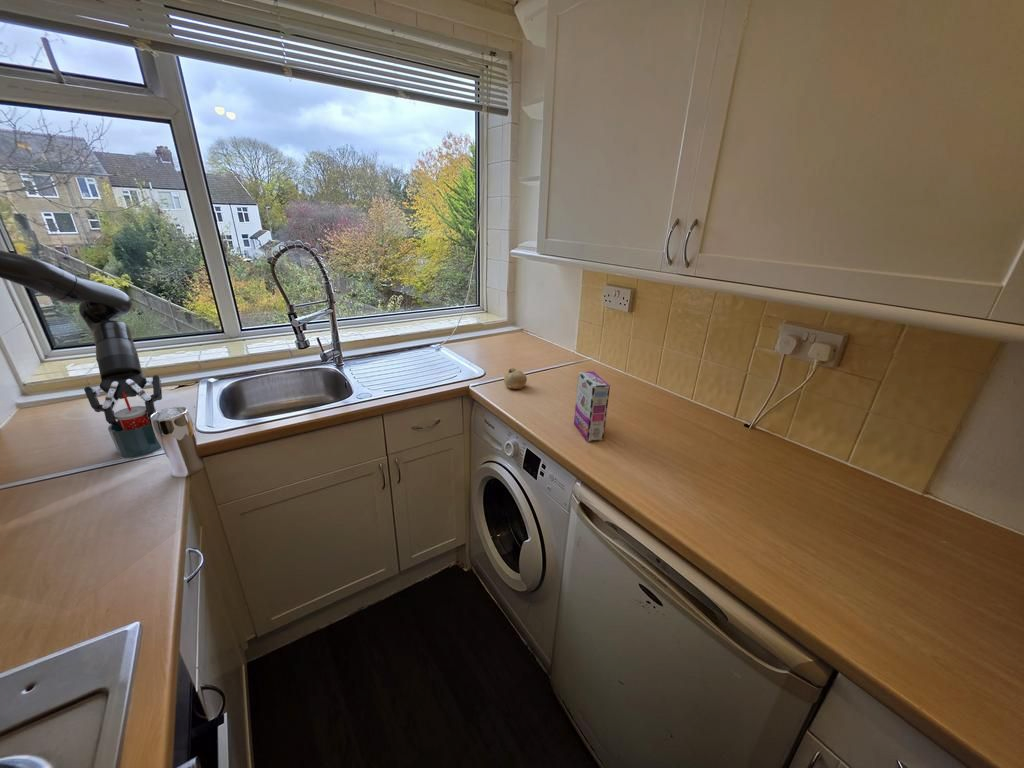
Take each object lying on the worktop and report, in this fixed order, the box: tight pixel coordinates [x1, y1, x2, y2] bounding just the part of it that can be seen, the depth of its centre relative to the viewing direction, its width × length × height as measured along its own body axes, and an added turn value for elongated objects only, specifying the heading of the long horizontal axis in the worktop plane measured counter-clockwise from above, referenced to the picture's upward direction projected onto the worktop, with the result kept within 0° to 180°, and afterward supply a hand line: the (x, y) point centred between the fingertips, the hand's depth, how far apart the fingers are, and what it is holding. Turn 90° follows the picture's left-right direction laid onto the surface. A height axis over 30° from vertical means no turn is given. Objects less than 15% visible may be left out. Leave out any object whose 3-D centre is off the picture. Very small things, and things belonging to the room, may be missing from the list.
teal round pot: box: [107, 414, 162, 458], centre depth 101 cm, size 10×10×8 cm
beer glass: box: [150, 406, 205, 478], centre depth 92 cm, size 7×7×15 cm
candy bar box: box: [573, 371, 611, 443], centre depth 111 cm, size 11×5×16 cm, turn 12°
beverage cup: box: [114, 392, 150, 431], centre depth 99 cm, size 6×6×14 cm
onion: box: [503, 367, 528, 390], centre depth 142 cm, size 8×8×7 cm
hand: (132, 420), depth 97 cm, fingers closed on beverage cup, 6 cm apart
